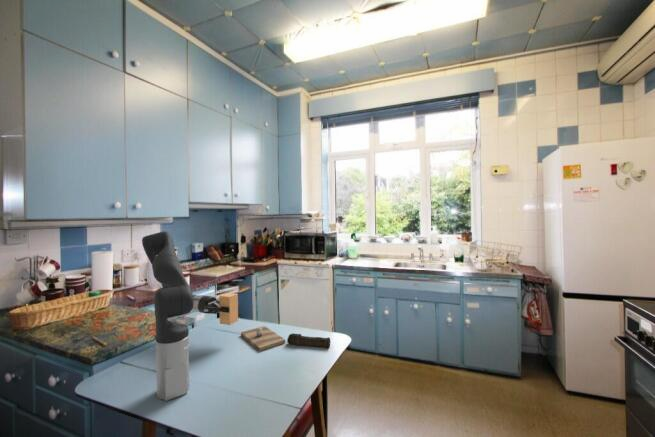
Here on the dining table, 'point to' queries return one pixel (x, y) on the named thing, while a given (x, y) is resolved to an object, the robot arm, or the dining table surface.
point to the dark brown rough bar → (308, 340)
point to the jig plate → (262, 338)
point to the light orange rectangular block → (232, 303)
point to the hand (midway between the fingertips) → (233, 307)
